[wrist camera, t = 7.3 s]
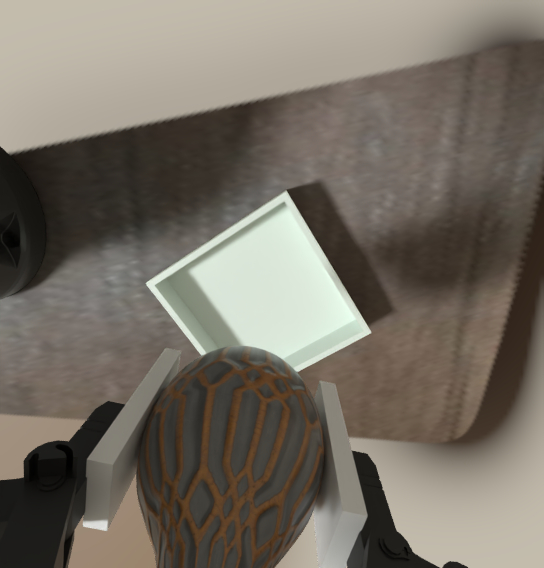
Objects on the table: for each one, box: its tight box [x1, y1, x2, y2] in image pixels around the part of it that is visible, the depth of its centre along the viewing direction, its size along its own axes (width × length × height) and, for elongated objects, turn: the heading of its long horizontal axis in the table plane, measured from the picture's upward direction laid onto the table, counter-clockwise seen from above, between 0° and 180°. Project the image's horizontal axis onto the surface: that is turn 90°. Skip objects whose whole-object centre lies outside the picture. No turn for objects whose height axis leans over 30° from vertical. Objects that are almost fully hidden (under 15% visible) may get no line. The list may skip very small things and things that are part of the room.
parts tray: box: [146, 190, 371, 372], centre depth 27 cm, size 13×13×3 cm
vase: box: [136, 346, 324, 568], centre depth 12 cm, size 7×7×9 cm
